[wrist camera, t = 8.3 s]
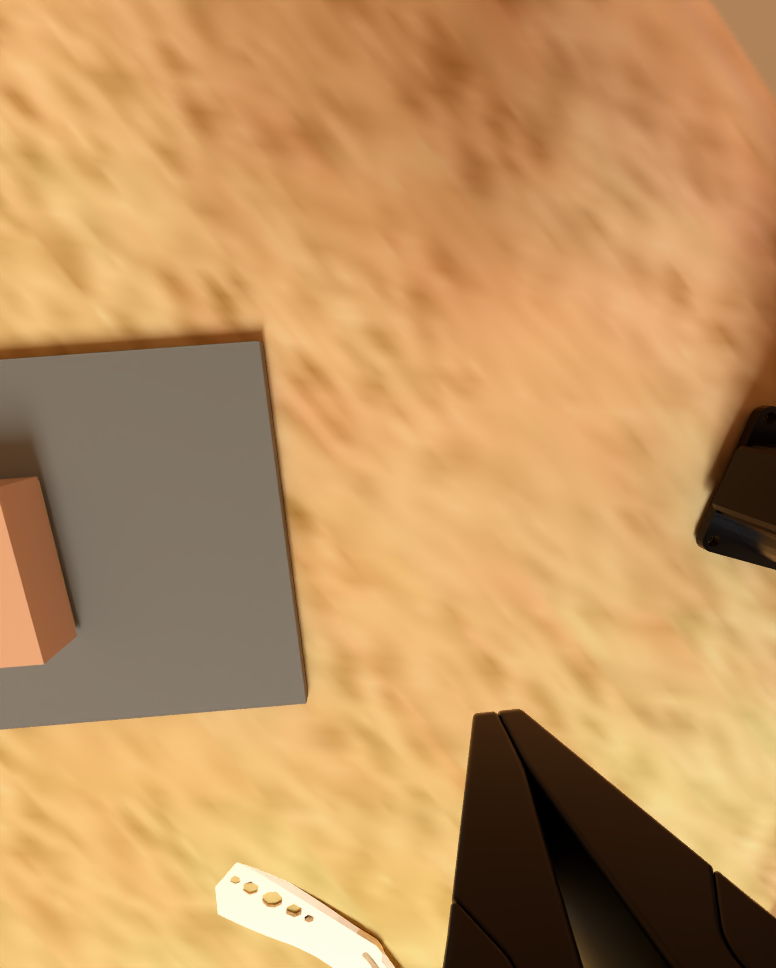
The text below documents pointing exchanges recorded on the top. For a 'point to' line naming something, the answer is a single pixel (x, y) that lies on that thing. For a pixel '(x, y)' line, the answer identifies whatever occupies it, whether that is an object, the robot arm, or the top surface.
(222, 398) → the mat
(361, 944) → the knife
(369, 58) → the top surface
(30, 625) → the tile
